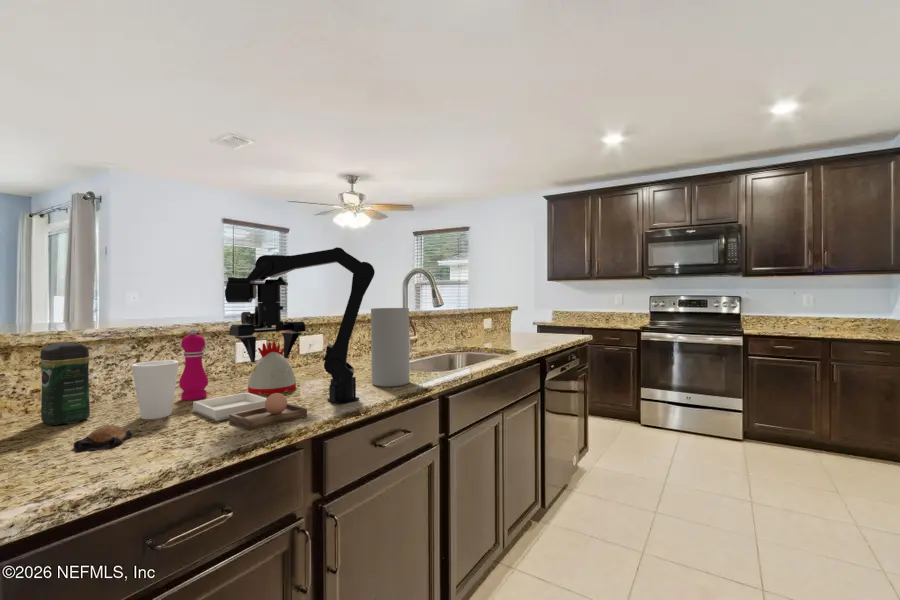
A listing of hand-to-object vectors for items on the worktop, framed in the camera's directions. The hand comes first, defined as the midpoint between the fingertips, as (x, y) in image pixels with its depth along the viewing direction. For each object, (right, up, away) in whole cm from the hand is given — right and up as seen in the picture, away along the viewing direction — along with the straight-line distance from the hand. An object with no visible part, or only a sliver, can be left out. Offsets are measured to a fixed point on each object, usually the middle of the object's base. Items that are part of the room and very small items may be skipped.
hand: (269, 360), depth 115 cm
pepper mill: (-26, -12, +8) cm, 30 cm away
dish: (-7, -12, -6) cm, 15 cm away
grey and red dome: (-7, -12, +19) cm, 24 cm away
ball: (+6, -11, -14) cm, 18 cm away
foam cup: (-24, -13, -10) cm, 29 cm away
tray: (+6, -12, -14) cm, 19 cm away
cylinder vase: (+29, -12, +27) cm, 41 cm away
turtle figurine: (-21, -13, -29) cm, 38 cm away
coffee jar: (-43, -13, -14) cm, 47 cm away
